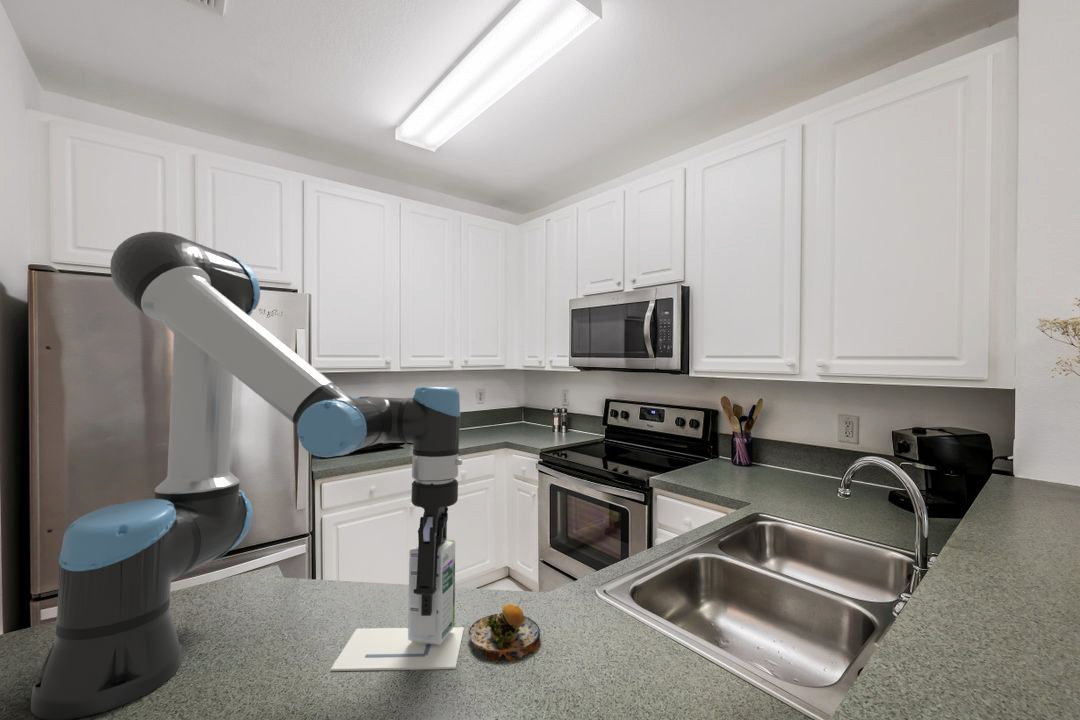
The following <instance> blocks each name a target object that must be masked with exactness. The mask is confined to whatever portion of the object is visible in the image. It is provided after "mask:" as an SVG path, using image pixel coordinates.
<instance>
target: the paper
mask: <svg viewBox="0 0 1080 720" xmlns="http://www.w3.org/2000/svg"><path fill="white" fill-rule="evenodd" d="M464 630H465V627H464V626H463V627H462V626H461V627H459V626H456V627H455V626H454V627H453V629H452V630H451V631H450V633H449V634H448V635H447V637H446V638H445V639H444V640H443V641H442V643H441V645H436V644H428V643H421V642H415V641H410V640H408V627H379V628H378V627H376V628H374V627H372V628H368V627H367V628H364V627H362V628H356V629H355V631H354V632H353V634H352V635H351V637H350V638H349V639H348V641H347V642H346V645H344V648H343V649H342V651H341V652H340V654H339V655H338V656H337V658H336V660H335V662H333V665H332V666H331V667H330V672H342V671H343V672H344V671H345V672H348V671H349V672H353V671H354V672H355V671H358V672H359V671H360V672H361V671H404V670H405V671H407V670H408V671H409V670H410V671H412V670H415V671H416V670H417V671H419V670H456V668H457V665H458V664H457V663H458V659H459V656H460V655H459V654H460V649H461V645H462V641H463V635H464Z"/></svg>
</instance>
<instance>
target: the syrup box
mask: <svg viewBox="0 0 1080 720" xmlns="http://www.w3.org/2000/svg"><path fill="white" fill-rule="evenodd" d="M408 554H409V558H408V559H409V561H408V567H409V568H408V571H409V572H408V573H409V574H408V618H407V619H408V620H407V621H408V623H407V624H408V627H407V628H408V640H410V641H415V642H421V643H428V644H436V645H441V643H442V641H443V640H444V639H445V638H446V637H447V635H448V634H449V633H450V631H451V630H452V629H453V627H455V622H456V621H455V618H456V614H455V611H456V609H455V608H456V605H455V604H456V603H455V602H456V599H455V598H456V541H455V540H453V539H448V538H447V539H443V540H442V544H441V545H440V546H439V549H438V553H437V577H436V590H437V618H436V634H435V635H418V607H419V595H416V594H414V589H416V585H417V565H418V544H417V545H414V546H413V547H412V548H411V549H409V553H408Z"/></svg>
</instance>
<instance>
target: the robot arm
mask: <svg viewBox="0 0 1080 720" xmlns="http://www.w3.org/2000/svg"><path fill="white" fill-rule="evenodd" d="M109 269H110V274H111V275H110V276H111V278H112V281H113V283H114V285H115V286H116V288H117V289H118V291H119V292H120V293H121V294H122V295H123V296H124V297H125V299H126V300H127V301H129V302H130V303H131V304H132V305H133V306H135V307H136V308H137V309H138V310H139V311H141V312H142V313H143V314H145V316H147V317H148V318H150V319H152V320H155V321H160V322H162V324H163V325H164V327H166V328H167V329H169V331H170V332H172V335H173V343H172V344H173V346H172V363H171V365H172V366H171V368H172V369H171V384H170V385H171V390H170V409H169V411H170V412H169V431H168V433H169V434H168V454H167V473H166V474H167V475H166V478H165V479H164V480H163V481H162V482H160V483H159V485H157V486H156V487H155V488H154V498H145V499H137V500H130V501H129V500H128V501H127V502H124V503H116V504H111V505H108V506H104V507H102V508H98V509H95V510H93V511H91V512H89V513H85V514H84V515H83V516H79V518H77V519H76V520H74V521H73V522H72V523H71V524H70V525H69V526H68V527H67V528H66V530H65V532H64V534H63V541H62V546H61V549H60V552H59V555H58V563H59V564H58V565H59V574H58V588H57V589H58V590H57V591H58V593H57V612H56V620H55V621H56V625H55V626H56V627H55V636H54V640H53V643H52V645H51V648H50V649H49V651H48V654H47V656H46V658H45V661H44V662H43V665H42V667H41V670H40V672H39V673H38V674H39V675H38V676H37V678H36V680H35V682H34V684H33V687H32V689H31V697H30V712H31V714H33V716H36V717H37V718H39V719H40V718H41V719H44V720H73V719H78V718H83V717H84V718H85V717H88V716H89V717H90V716H92V715H96V714H97V715H98V714H100V713H103V712H107V711H109V710H110V711H111V710H112V709H116V708H118V707H121V706H123V705H126V704H127V703H132V702H134V701H135V700H137V699H139V698H141V697H143V696H145V695H147V694H149V693H150V692H152V691H154V690H155V689H157V688H158V687H160V686H162V685H163V684H165V683H166V682H168V680H170V679H171V678H172V677H173V676H174V675H175V674H176V672H178V670H179V668H180V666H181V664H182V653H183V646H182V641H181V640H180V638H179V637H178V633H177V630H176V629H177V628H176V627H175V624H174V620H173V618H172V616H171V613H170V599H171V588H172V587H171V585H172V581H174V580H176V579H178V578H179V577H181V576H184V575H185V574H188V573H190V572H192V571H193V570H195V569H197V568H198V569H199V568H200V567H202V566H204V565H206V564H208V563H210V562H212V561H214V562H215V561H216V560H217V559H219V558H222V557H223V556H225V555H226V554H227V553H228V552H230V551H231V550H233V549H235V548H236V547H237V546H238V545H239V544H240V543H242V541H243V540H244V538H245V537H246V536H247V534H248V532H249V531H250V529H251V525H252V522H253V507H252V503H251V500H250V499H249V498H247V497H246V493H245V492H244V491H242V490H241V489H240V479H239V478H238V477H237V476H235V475H234V474H233V473H232V472H231V470H230V468H231V467H230V466H231V443H232V442H231V441H232V417H233V416H232V415H233V414H232V413H233V390H234V389H233V388H234V387H233V385H234V377H235V378H237V379H238V380H239V381H240V382H241V383H243V384H244V385H245V386H247V387H248V388H249V389H250V390H251V391H253V392H254V393H255V394H256V395H258V397H261V398H262V399H263V400H264V402H266V403H268V404H269V405H270V406H271V407H272V408H274V409H275V410H276V411H277V412H279V414H281V415H283V416H284V417H285V418H286V419H288V420H289V421H290V422H291V423H292V424H294V425H295V426H296V428H297V429H296V433H297V437H298V439H299V442H300V443H301V446H302V447H303V449H304V450H305V451H307V452H308V453H310V454H311V455H313V456H315V457H321V458H332V457H339V456H342V457H343V456H345V455H350V453H353V452H354V451H357V450H360V449H363V448H367V447H371V446H375V445H377V444H381V443H383V444H384V443H387V444H388V443H389V444H390V443H391V444H392V443H397V444H398V443H400V444H401V443H403V444H405V443H406V444H409V443H410V444H411V443H412V447H413V448H412V465H411V478H412V479H414V480H413V482H412V483H411V500H410V501H411V504H412V506H415V507H418V508H422V509H423V510H424V511H423V515H422V516H421V517H420V519H419V527H418V529H417V537H418V539H417V540H418V544H417V545H418V565H417V585H416V589H414V594H416V595H419V607H418V635H435V634H436V618H437V590H436V577H437V553H438V549H439V546H440V545H441V544H442V540H443V539H448V537H447V536H448V535H447V533H448V531H447V530H448V520H449V513H448V511H449V508H448V507H451V506H453V505H455V504H456V503H457V502H458V500H459V499H458V498H459V481H458V480H457V477H458V476H459V466H462V464H463V461H462V459H461V458H458V457H459V453H460V452H459V451H460V450H459V449H460V428H461V426H460V424H461V415H462V414H461V407H460V406H461V405H460V404H461V403H460V392H459V391H458V389H457V388H455V387H452V386H417V387H416V388H415V390H414V394H413V397H402V398H401V397H384V396H383V397H380V396H378V397H377V396H375V397H374V396H366V395H365V396H358V397H357V396H355V397H352V396H351V395H349V394H348V393H347V392H346V391H344V390H342V389H341V388H340V387H339V386H337V385H336V384H335V383H334V382H333V381H332V380H330V379H329V378H328V377H327V376H326V375H324V374H323V373H322V372H320V371H319V370H318V369H317V368H315V367H314V366H313V365H311V363H309V362H308V361H306V360H305V359H304V358H303V357H302V356H300V355H299V354H297V353H296V352H295V351H294V350H293V349H291V348H290V347H289V346H287V345H286V344H285V343H284V342H282V341H281V340H280V339H279V338H278V337H276V336H275V335H274V334H273V333H272V332H270V331H269V330H268V329H266V328H265V327H264V326H262V325H261V324H260V323H259V322H257V321H256V320H255V319H254V318H252V316H251V315H252V313H253V311H254V310H256V309H257V307H258V305H259V302H260V298H261V288H260V283H259V280H258V277H257V276H256V274H255V272H254V271H253V270H252V268H251V267H249V266H248V265H247V264H246V263H244V262H243V261H242V260H239V259H237V258H236V257H234V256H232V255H230V254H229V253H227V252H223V251H219V250H215V249H213V248H211V247H207V246H205V245H203V244H200V243H197V242H195V241H192V240H190V239H188V238H185V237H182V236H180V235H177V234H174V233H171V232H164V231H145V232H140V233H137V234H135V235H132V236H129V237H128V238H126V239H124V240H123V241H122V242H121V243H120V244H119V245H118V246H117V247H116V248H115V250H114V252H113V254H112V256H111V259H110V268H109Z"/></svg>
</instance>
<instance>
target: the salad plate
mask: <svg viewBox="0 0 1080 720" xmlns="http://www.w3.org/2000/svg"><path fill="white" fill-rule="evenodd" d="M522 597H523V596H521V597H520V599H522ZM520 602H521V601H519V602H518V605H517V604H514V603H506V604H504V605H503V606H502V608H501V609H502V610H501V611H502V612H499V613H495V614H490V615H488V616H485V617H482V618H480V619H478V620H476V621H475V622H473V624H472V625H471V626H470V628H469V630H468V635H469V638H470V641H471V643H472V644H473V645H474V647H475V648H476V649H480V650H482V651H483V652H484V656H485V660H486V661H487V660H489V661H491V662H495V661H498V662H500V657H502V655H504V656H505V658H506V659H507V660H508V661H511V662H515V661H517V659H518V660H521V659H522V658H523V656H527V655H528V653H532V654H533V653H535V651H537V649H538V647H539V645H540V642H541V633H540V632H541V628H540V626H539V625H538V624H537V622H536V621H534V620H533V619H531V617H528V616H525V613H524V612H523V610H522V609H521V607H520V606H519V604H520Z"/></svg>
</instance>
